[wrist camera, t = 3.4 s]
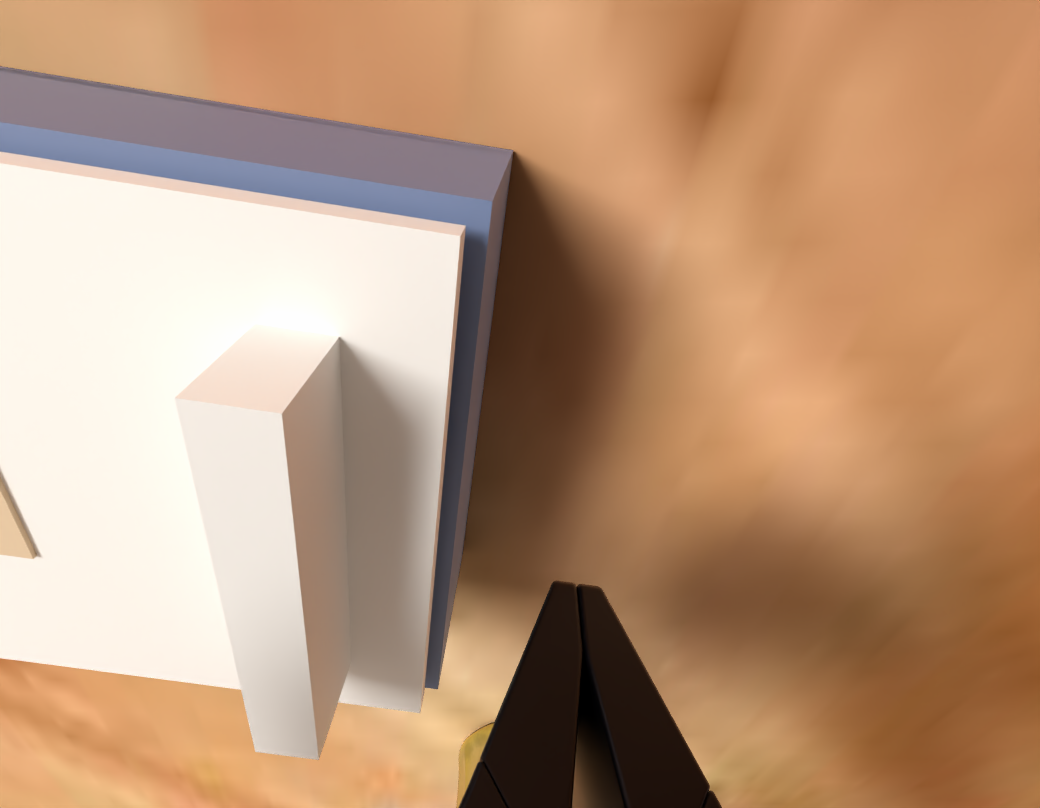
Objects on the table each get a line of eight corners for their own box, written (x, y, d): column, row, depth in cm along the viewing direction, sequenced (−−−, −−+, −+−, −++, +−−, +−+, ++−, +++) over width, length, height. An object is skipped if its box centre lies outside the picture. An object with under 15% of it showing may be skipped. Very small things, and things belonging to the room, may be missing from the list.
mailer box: (513, 150, 11) (492, 200, 8) (462, 553, 18) (437, 688, 14) (-297, 17, 11) (-747, 2, 7) (-48, 481, 17) (-216, 602, 14)
